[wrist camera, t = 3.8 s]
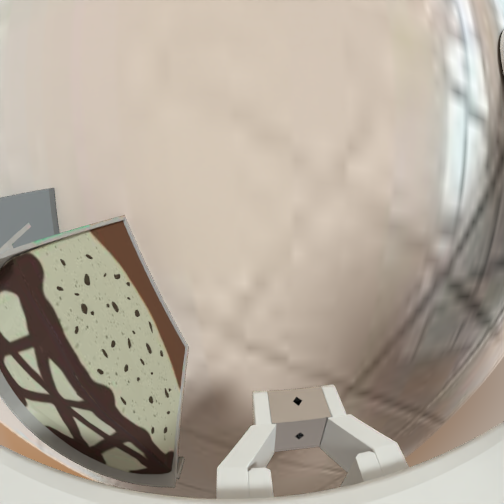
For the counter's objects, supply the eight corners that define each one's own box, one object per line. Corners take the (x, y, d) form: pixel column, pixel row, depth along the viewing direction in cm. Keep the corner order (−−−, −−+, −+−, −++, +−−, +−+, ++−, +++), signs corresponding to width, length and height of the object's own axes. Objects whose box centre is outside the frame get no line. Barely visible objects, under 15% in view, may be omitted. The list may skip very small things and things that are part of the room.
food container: (43, 230, 15) (-67, 293, 6) (115, 191, 15) (-10, 239, 5) (126, 379, 19) (86, 486, 10) (198, 363, 19) (180, 492, 9)
